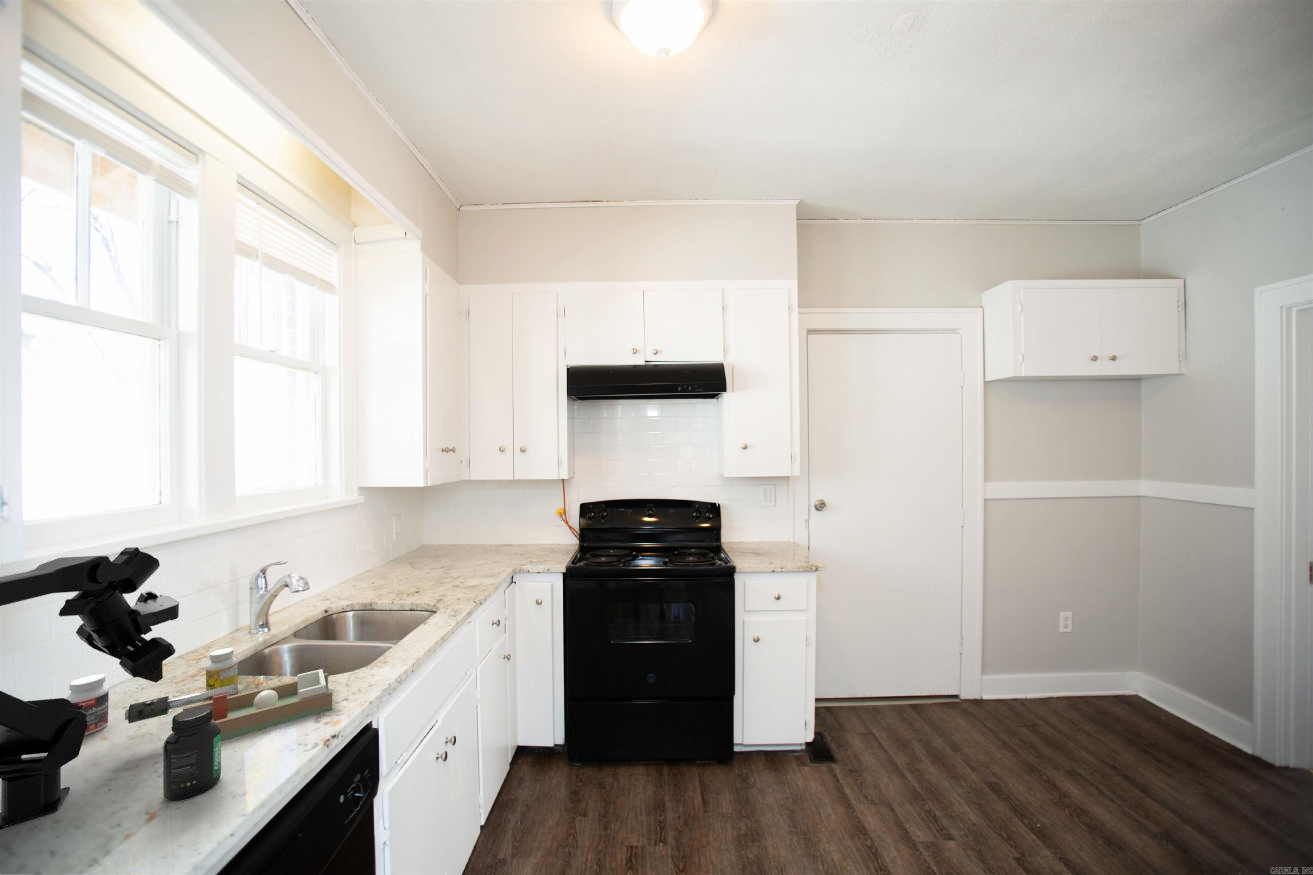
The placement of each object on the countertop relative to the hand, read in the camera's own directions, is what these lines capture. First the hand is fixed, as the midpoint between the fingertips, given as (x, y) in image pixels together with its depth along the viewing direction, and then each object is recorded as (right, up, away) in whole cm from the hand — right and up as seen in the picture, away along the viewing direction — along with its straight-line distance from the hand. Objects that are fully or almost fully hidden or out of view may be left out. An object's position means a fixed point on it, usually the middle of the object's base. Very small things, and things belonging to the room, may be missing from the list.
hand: (145, 670), depth 97 cm
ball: (+19, -9, +6) cm, 22 cm away
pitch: (+18, -12, +5) cm, 22 cm away
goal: (+25, -11, +11) cm, 29 cm away
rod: (+9, -11, -1) cm, 14 cm away
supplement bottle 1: (+24, -12, -16) cm, 31 cm away
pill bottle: (-13, -13, +2) cm, 19 cm away
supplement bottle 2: (+1, -13, +16) cm, 20 cm away
